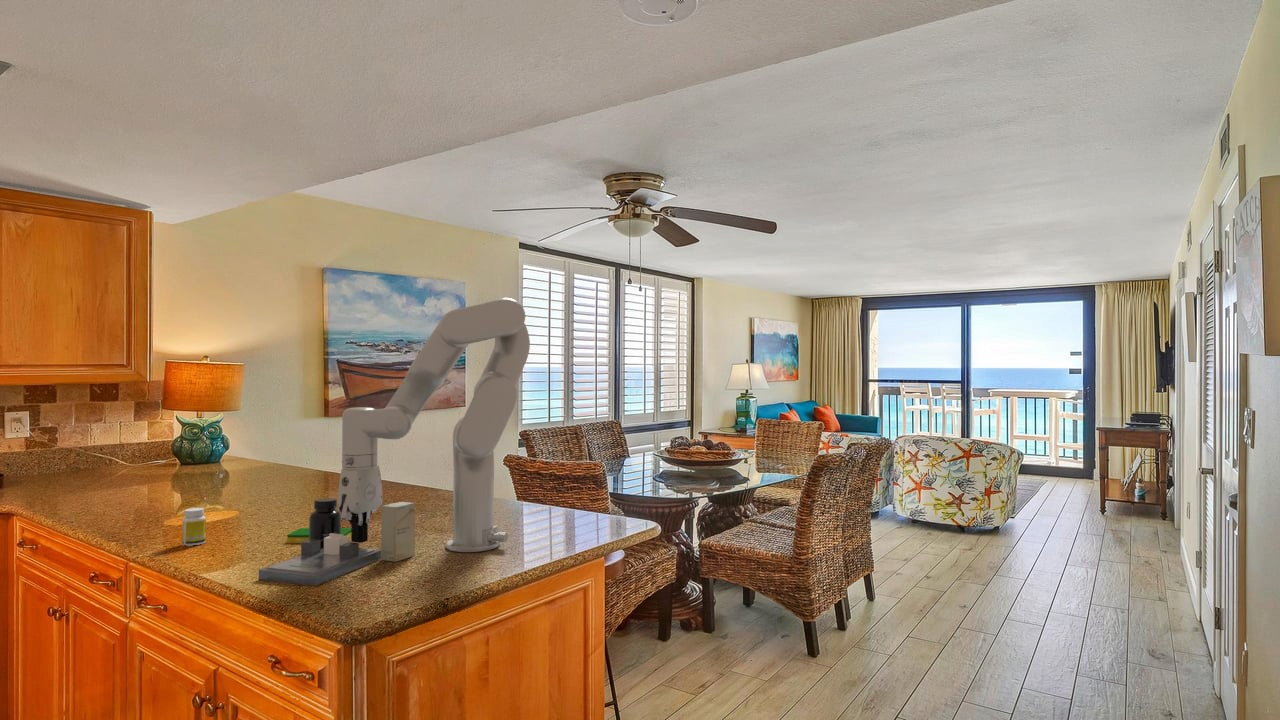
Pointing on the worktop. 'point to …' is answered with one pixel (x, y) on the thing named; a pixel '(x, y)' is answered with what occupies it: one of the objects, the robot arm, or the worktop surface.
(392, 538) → the skincare box
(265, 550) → the worktop surface
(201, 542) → the supplement bottle
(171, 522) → the worktop surface
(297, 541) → the dish sponge
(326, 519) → the supplement bottle
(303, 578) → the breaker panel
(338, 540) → the block
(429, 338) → the robot arm
